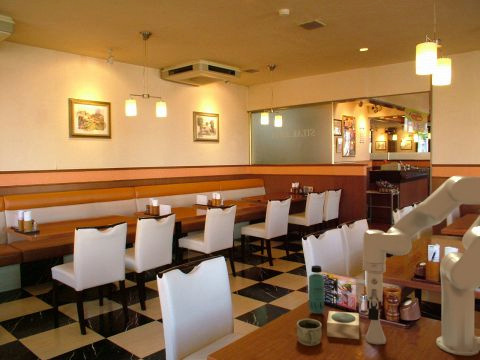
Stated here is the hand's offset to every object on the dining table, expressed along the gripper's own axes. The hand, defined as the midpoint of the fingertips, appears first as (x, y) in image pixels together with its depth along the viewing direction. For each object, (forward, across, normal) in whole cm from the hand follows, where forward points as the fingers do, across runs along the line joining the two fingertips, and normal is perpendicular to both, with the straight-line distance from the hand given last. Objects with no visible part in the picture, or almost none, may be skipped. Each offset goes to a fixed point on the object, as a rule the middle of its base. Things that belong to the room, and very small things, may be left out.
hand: (372, 314), depth 138 cm
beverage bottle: (+10, +19, +21) cm, 30 cm away
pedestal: (+10, +5, +10) cm, 15 cm away
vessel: (+10, -5, +21) cm, 24 cm away
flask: (+10, 0, -1) cm, 10 cm away
